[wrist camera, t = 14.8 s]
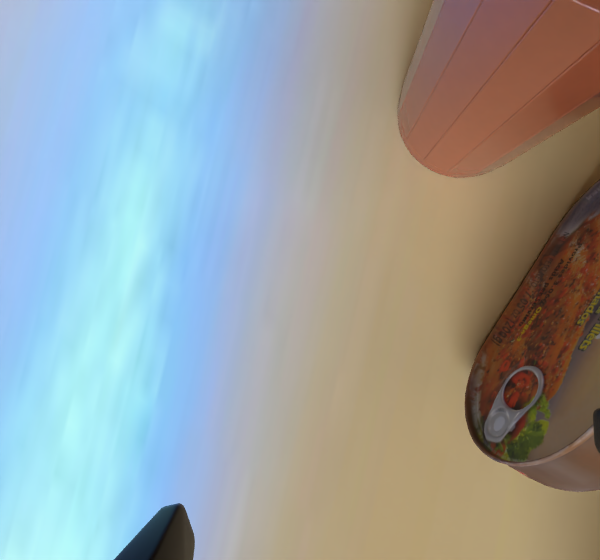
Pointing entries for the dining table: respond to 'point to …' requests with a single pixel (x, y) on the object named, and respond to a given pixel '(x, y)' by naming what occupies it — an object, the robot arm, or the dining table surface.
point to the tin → (546, 363)
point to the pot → (498, 80)
